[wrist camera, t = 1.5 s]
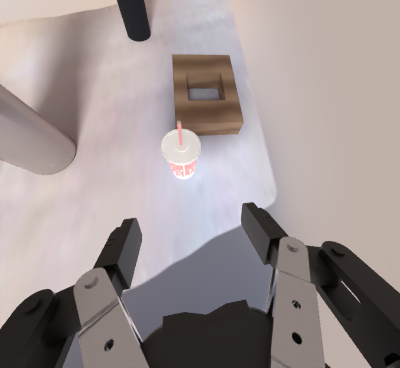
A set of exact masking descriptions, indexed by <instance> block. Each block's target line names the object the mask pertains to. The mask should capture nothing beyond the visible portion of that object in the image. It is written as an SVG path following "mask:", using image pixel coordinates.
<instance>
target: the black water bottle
mask: <svg viewBox="0 0 400 368" xmlns="http://www.w3.org/2000/svg"><path fill="white" fill-rule="evenodd" d="M117 2H118V5H119V9H120V12H121V15H122V18H123V21H124V24H125V28H126V31H127V34H128V36H129V38H130V39H132V40H134V41H145V40H147V39H148V38H149V37H150V28H149V23H148V18H147V13H146V8H145V3H144V0H117Z"/></svg>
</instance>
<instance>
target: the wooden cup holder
mask: <svg viewBox="0 0 400 368" xmlns="http://www.w3.org/2000/svg"><path fill="white" fill-rule="evenodd" d="M172 60H173V80H174V100H175V120H176V129H178V126H177V121H181V129H188V130H190V131H192V132H194V133H195V134H196V135H197V136H199V135H226V134H238V132H239V130H240V128H241V126H242V124H243V117H242V112H241V108H240V103H239V98H238V94H237V89H236V84H235V80H234V75H233V70H232V65H231V61H230V56H229V55H172ZM188 88H218V92H219V98H220V100H201V101H188V91H187V89H188Z"/></svg>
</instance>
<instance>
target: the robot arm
mask: <svg viewBox="0 0 400 368" xmlns="http://www.w3.org/2000/svg"><path fill="white" fill-rule="evenodd" d="M75 153H76V147H75V144H74V142H73V141H72V140H71V139H70V138H69V137H68V136H67V135H65V134H64V133H63V132H61V131H60V130H59V129H58V128H56V127H55V126H54V125H53V124H51V123H50V122H49V121H47V120H46V119H45V118H44V117H42V116H41V115H40V114H38V113H37V112H36V111H35V110H33V109H32V108H31V107H29V106H28V105H27V104H25V103H24V102H23V101H22V100H20V99H19V98H18V97H16V96H15V95H14V94H13V93H11V92H10V91H9V90H7V89H6V88H5V87H4V86H2V85H1V84H0V160H2V161H5V162H7V163H10V164H13V165H15V166H18V167H21V168H23V169H26V170H29V171H31V172H34V173H37V174H41V175H49V174H54V173H56V172H59V171H61V170H63V169H64V168H66V167H67V166H68V165H69V164H70V163H71V162H72V160H73V158H74V156H75ZM241 223H242V226H243V228H244V230H245V232H246V233H247V235H248V237H249V239H250V241H251V242H252V244H253V246H254V247H255V249H256V251H257V253H258V255H259V256H260V258H261V260H262V262H263V264H264V265H266V264H271V266H272V267H273V268H272V273H271V281H270V288H269V296H268V302H267V307H266V312H264V311H262V310H260V309H257V308H254V307H249V306H248V304H247V302H246V300H242V301H236V302H232V303H227V304H225V305H223V306H221V307H220V308H218V309H216V310H214V311H213V312H211V313H209V314H206V315H204V314H195V313H187V312H184V313H179V314H173V315H168V316H164V317H163V324H162V325H160V326H159V327H157V328H156V329H155V330H154V331H153V332H152V333H150V334H149V335H148V336H147V338H146V339H145V340H144V341H142V339H141V337H140V335H139V333H138V331H137V329H136V328H135V325H134V323H133V321H132V319H131V317H130V315H129V313H128V311H127V309H126V307H125V305H124V302H123V300H122V298H121V295H122V292H123V290H126V289H130V286H131V282H132V278H133V274H134V270H135V266H136V262H137V258H138V254H139V250H140V246H141V243H142V233H141V230H140V227H139V224H138V221H137V219H136V218H130V219H124V220H123V222H122V225H121V227H117V228H116V229H115V230H114V231H113V232H112V233H111V234H110V236H109V238H108V241H107V242H106V244H105V247H104V248H103V250H102V252H101V254H100V256H99V257H98V259H97V261H96V263H95V265H94V267H93V269H92V270H90V271H88V272H86V273H85V274H84V275H82V276H81V277H80V278H79V280H78V281H77V282H76V284H75V285H73V286H71V287H69V288H67V289H64V290H62V291H60V292H58V293H54V292H53V291H52V290H50V289H44V290H41V291H38V292H36V293H34V294H32V295H31V296H29V297H28V298H27V299H25V300H24V301H23V302H22V303H21V304H20V305H19V306H18V307H17V308H16V309H15V310H14V312H13V313H12V314H11V316H10V317H9V318H8V320H7V321H6V322H5V324H4V325H3V326H2V328H1V329H0V368H62V366H63V364H64V362H65V359H66V357H67V354H68V352H69V349H70V346H71V344H72V341H73V339H74V336H75V334H76V332H78V331H79V332H78V338H79V344H80V349H81V354H82V359H83V364H84V368H330V367H329V366H328V365H327V364H326V363H325V361H324V353H323V344H322V335H321V328H320V320H319V310H318V302H317V293H316V290H317V292H318V293H319V294H320V296H321V297H322V299H323V300H324V301H325V303H326V304H327V306H328V307H329V308H330V310H331V311H332V313H333V314H334V315H335V317H336V318H337V320H338V321H339V323H340V324H341V325H342V327H343V328H344V330H345V331H346V332H347V334H348V335H349V337H350V338H351V339H352V341H353V342H354V344H355V345H356V346H357V348H358V349H359V351H360V352H361V353H362V355H363V356H364V358H365V359H366V360H367V362H368V363H369V365H370V366H371V367H372V368H400V293H399V292H398V291H396V290H395V289H394V288H393V287H392V286H391V285H390V284H388V283H387V282H386V281H385V280H384V279H383V278H382V277H380V276H379V275H378V274H377V273H376V272H374V270H372V269H371V268H370V267H369V266H368V265H367V264H365V263H364V262H363V261H362V260H361V259H360V258H359V257H357V256H356V255H355V254H354V253H353V252H352V251H351V250H349V249H348V248H347V247H345V246H343V245H341V244H339V243H336V242H332V241H326V242H324V243H323V244H322V246H321V247H314V246H306V245H304V243H302V242H301V241H300V240H298V239H296V238H293V237H289V236H288V235H287V234H286V233H285V231H284V230H283V229H282V228H281V227H280V226H279V225H278V224H277V222H276V221H275V220H274V219H273V218H272V217H271V216H270V214H269V213H268V212H267V211H265V210H264V209H262V208H258V207H257V206H256V205H255V204H254V203H253V202H250V203H243V205H242V214H241ZM341 281H343V282H344V283H345V284H346V286H347V287H348V288H349V289H350V290H351V291H352V292H353V293H354V295H355V296H356V297H357V298H358V299H359V301H360V302H358V300H357V299H356V298H355V297H354V296H353V295H352V293H351V292H350V291H349V290H348V289H347V288H346V287H345V286H344V284H343V283H342V282H341ZM360 303H361V304H360Z"/></svg>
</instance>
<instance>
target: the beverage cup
mask: <svg viewBox="0 0 400 368" xmlns="http://www.w3.org/2000/svg"><path fill="white" fill-rule="evenodd" d="M177 126H178V129H175V130H172V131H170V132H169V133H167V134H166V135H165V137H164V138H163V139H162V143H161V149H162V153H163V155H164V157H165V158H166V159H167V160H168V162H169V164H170V167H171V169H172V171H173V173H174V174H175V176H176V177H178V178H180V179H186V178H189V177H191V176H192V175H193V173H194V170H195V166H196V162H197V158H198V156H199V154H200V151H201V142H200V140H199V137H198V136H197V135H196V134H195V133H194V132H192V131H190V130H188V129H181V121H177Z"/></svg>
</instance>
